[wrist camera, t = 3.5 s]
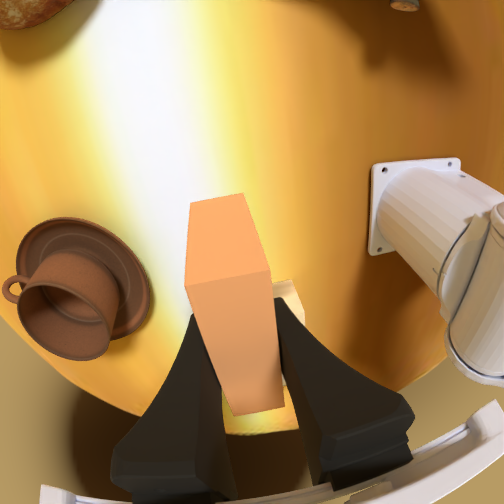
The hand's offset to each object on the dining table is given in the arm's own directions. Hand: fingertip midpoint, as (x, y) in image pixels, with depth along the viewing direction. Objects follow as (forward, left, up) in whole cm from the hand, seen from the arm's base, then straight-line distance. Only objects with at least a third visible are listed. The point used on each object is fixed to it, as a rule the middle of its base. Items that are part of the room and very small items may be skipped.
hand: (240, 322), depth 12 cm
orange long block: (0, 0, -4) cm, 4 cm away
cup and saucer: (+12, +3, -11) cm, 17 cm away
